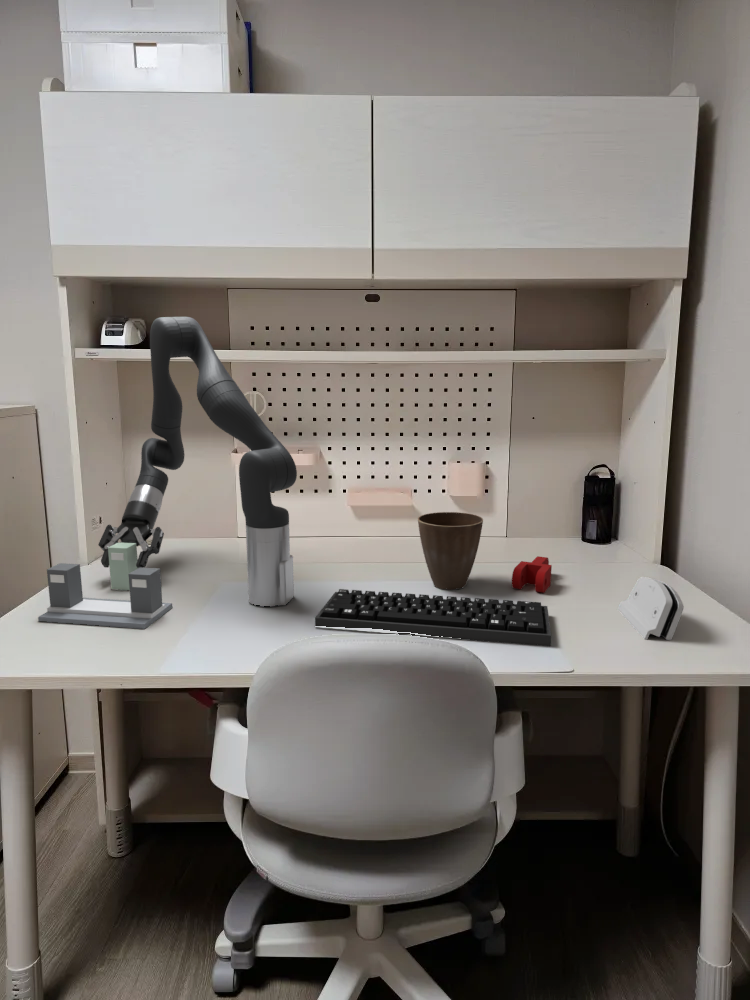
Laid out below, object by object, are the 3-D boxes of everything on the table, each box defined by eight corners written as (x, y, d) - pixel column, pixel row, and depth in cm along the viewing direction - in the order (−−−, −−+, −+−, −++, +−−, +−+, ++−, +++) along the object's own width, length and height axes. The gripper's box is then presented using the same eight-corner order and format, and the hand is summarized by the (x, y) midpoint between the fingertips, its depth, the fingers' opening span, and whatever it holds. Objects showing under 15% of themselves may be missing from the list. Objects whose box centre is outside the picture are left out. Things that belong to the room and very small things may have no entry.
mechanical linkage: (542, 595, 154) (543, 574, 153) (511, 591, 157) (512, 570, 156) (557, 576, 168) (559, 556, 167) (529, 572, 171) (529, 552, 170)
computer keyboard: (315, 630, 135) (314, 612, 134) (335, 603, 150) (335, 586, 150) (550, 649, 126) (551, 629, 126) (546, 618, 142) (547, 600, 141)
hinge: (616, 608, 145) (635, 566, 143) (637, 616, 146) (656, 573, 144) (644, 640, 129) (667, 592, 127) (668, 648, 129) (690, 601, 127)
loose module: (139, 584, 161) (136, 543, 159) (129, 590, 157) (125, 548, 155) (121, 583, 162) (118, 542, 160) (110, 589, 158) (107, 547, 156)
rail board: (172, 607, 146) (169, 563, 144) (144, 628, 135) (141, 581, 133) (73, 601, 150) (69, 558, 148) (38, 621, 138) (33, 575, 136)
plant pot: (406, 589, 157) (407, 522, 154) (430, 572, 171) (431, 509, 167) (469, 599, 151) (471, 528, 148) (489, 580, 164) (491, 515, 161)
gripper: (109, 498, 165) (85, 557, 156) (164, 500, 162) (144, 560, 153) (122, 515, 171) (100, 573, 162) (176, 517, 168) (156, 576, 160)
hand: (121, 567), depth 158 cm, fingers open, 8 cm apart
